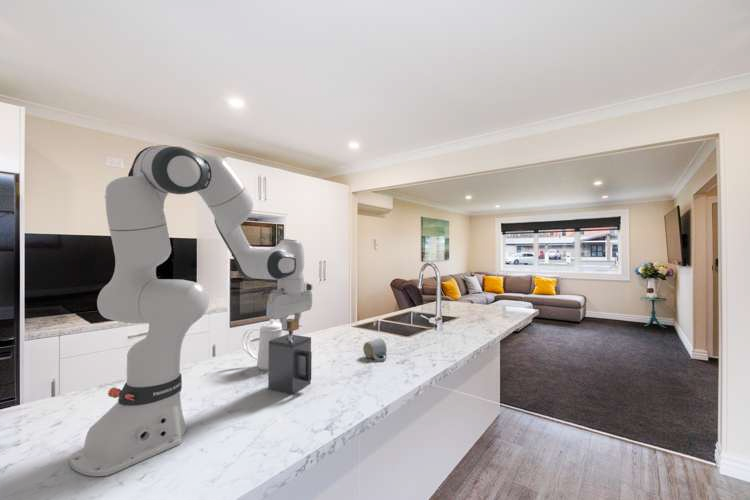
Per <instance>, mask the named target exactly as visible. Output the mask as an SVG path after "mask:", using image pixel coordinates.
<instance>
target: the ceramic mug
mask: <svg viewBox="0 0 750 500" xmlns="http://www.w3.org/2000/svg"><path fill="white" fill-rule="evenodd" d="M362 349H363V354H364V355H365V357H366V358H367V359H374V360H375V361H377V362H385V361H386V359H387V357H388V356H387V344H386V342H385V340H384V338H381V337H379V338H375V339H372V340H369V341H367V342H364V345H363V347H362ZM380 357H382V358H380Z"/></svg>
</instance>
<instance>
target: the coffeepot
mask: <svg viewBox="0 0 750 500" xmlns="http://www.w3.org/2000/svg"><path fill="white" fill-rule="evenodd" d="M275 320H276V319H269V322H265V323H264V324H262V325H261V326H260V328H258V327H254V328H250V329H248V330H246V331H245V332H244V334H243V336H242V345H243V346H242V347H243V349H244V350H245V352H246V353H247V354H248V355H249V356H250V357H251V358H253V359H255V360H257V362H256V366H257V368H258V369H260V370H263V371H268V364H269V341H270V340H273V339H276V338H278V337H281V336H284V335H285V333H284V330H282V324H281V322H275ZM300 327H302V328H303V327H304V325H303V324H299V328H300ZM251 330H252V331H251ZM249 331H250V332H249ZM254 331H259V339H258V350H257V356H256V355H254V353H253V352H252V351H251V349H250V347H249V338H250V335H251V334H252V333H253V332H254ZM248 332H249V333H248ZM294 332H295V330H294V331H292V335H294ZM247 333H248V335H247V337H246V334H247ZM245 337H246V343H245Z"/></svg>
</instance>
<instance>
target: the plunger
mask: <svg viewBox="0 0 750 500" xmlns="http://www.w3.org/2000/svg"><path fill="white" fill-rule="evenodd" d="M286 322H287V324H289V326H288V327H289V328H288V329H286V330H283V329H282V330H283V332H284V331H285V332H288V334H289V340H292V331H294V332H295V331H298V330H300V327H299V325H300V319H299V320H297V319H294V318H287V319H286Z"/></svg>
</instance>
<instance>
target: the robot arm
mask: <svg viewBox="0 0 750 500" xmlns="http://www.w3.org/2000/svg"><path fill="white" fill-rule="evenodd" d="M127 174H128V175H127V176H122V177H118V178H115V179H113V180H112V181H110V182H109V183H108V184H107V185H106V188H105V209H106V210H105V211H106V212H105V213H106V219H107V220H106V221H107V224H108V228H109V233H110V238H111V242H112V247H113V248H112V249H113V253H114V258H115V259H114V260H115V261H114V262H115V263H114V265H115V266H114V272H113V275H112V277H111V279H110V281H109V282H108V283H107V284H106V285H104V287H103V288H102V289H101V290H100V291H99V294H98V295H97V300H96V305H97V307H96V308H97V311H98V312H99V314H100V315H101V316H102V317H103V318H105V319H106V320H111V321H114V322H118V323H123V324H148V331H147V333H146V336H145V338H142V339H141V340H139V341H137V342H135V343H134V344H133V345H132V346H131V347H130V348H129V350H128V352H127V354H126V382H125V384H124V385H123V386H122V389H120V388H118V387H111V388H110V389H109V390H108V391H107V396H108V397H110V398H113V399H116V398H117V402H116V403H115V404H114V405H112V407H111V408H110V409H109V410H108V411H107V412H106V413H105V414H103V415H102V416H101V417H100V418H99V419H98V420H96V422H95V423H94V424H92V426H90V427H89V429H88V431H87V433H86V436H85V440H84V446H83V448H82V449H79V450H78V451H76V452H74V453H73V454H71V456H70V460H69V465H70V467H71V468H72V469H73V470H74V471H75V472H77V473H79V474H82V475H84V476H91V477H107V476H109V475H112V474H114V473H117V472H119V471H122V470H124V469H126V468H128V467H131V466H133V465H135V464H138V463H139V462H142V461H144V460H147V459H149V458H150V457H153V456H156V455H158V454H160V453H162V452H164V451H167V450H169V449H172V448H174V447H175V446H178V445H180V444H181V443H182V441H183V435H184V434H185V432H186V431H187V427H188V426H187V423H186V421H185V419H184V413H183V409H182V407H183V406H182V400H181V391H182V385H183V384H182V382H183V381H182V378H183V377H182V373H180V371H181V369H180V368H181V353H182V346H183V345H182V344H183V342H184V338H185V336H186V334H187V333H188V331H189V329H190V328H191V327H192V326H193V325H194V324H195V323H196V322H198V321H199V320H200V319H202V317H204V315H205V313H206V312H207V310H208V308H209V304H210V297H209V296H210V295H209V293H208V290H207V289H206V287H205V286H204V285H203V284H202V283H199V282H195V281H192V280H187V279H186V280H185V279H171V278H169V279H168V278H166V279H165V278H164V279H163V278H161V279H159V278H158V277H157V267H158V266H160V265H162V264H163V263H164V262H166V261H167V260H168V258H170V255H171V254H172V246H171V245H172V244H171V239H170V235H169V230H168V224H167V220H166V215H165V211H164V208H165V200H166V197H168V195H169V194H174V195H187V194H191V193H195V192H196V193H197V194H198V195H199V196H200V197H201V198H202V200H203V202H204V203H205V204H206V205H207V207H208V208H209V210H210V212H211V213H212V216H213V217H214V224H215V226H216V228H217V231H218V233H219V235H220V237H221V239H222V240H223V242H224V243H225V245H226V247H227V249H228V250H229V253H230V254H231V255H232V258H233V260H234V264H235V267H236V270H237V272H238V274H239V276H241V277H242V278H243V279H246V280H258V279H259V280H276V281H277V284H276V285H277V288H276V289H272V291H270V293H269V294H268V298H267V303H266V313H265V314H266V317H267V318H268V319H269V320H271V319H274V320H277V319H279V323H280V324H282V329H283V331H284V330H286V329H288V328H289V327H288V326H289V324H287V322H286V320H287V319H288V317H289V316H293V315H294V318H293V319H297V320H299V321H300V319H301V316H302V313H304V312H307V311H310V310H311V309H312V306H313V292H312V290H313V288H314V287H313V284H312V283H309V282H307V281H305V276H304V269H305V253H304V252H305V251H304V246H303V244H302V243H301V242H300V241H298V240H296V239H295V240H294V239H290V238H289V239H288V238H287V239H286V238H285V239H281V240H280V241H279V243H277V245H275V246H274V247H271V248H270V249H259V248H255V247H253V246H252V245H250V243H249V241H248V239H247V237H246V235H245V234H244V231H243V229H242V227H241V225H242V224H243V223H245V222H246V221H247V220H248V219H249V218H250V216H251V215H252V212H253V209H254V202H253V198H252V197H251V195H250V192H249V191H248V190H247V187H245V185H244V183H243V181H242V180H241V178H240V177H239V176H238V174H237V173H236V172H235V171H234V169H233V167H231V165H230V164H228V162H227V161H226V160H225V159H224V158H222V157H221V156H218V155H214V154H210V155H209V154H208V155H204V156H202V157H201V156H200V155H198V154H196V153H195V152H193V151H191V150H189V149H187V148H184V147H181V146H173V145H169V144H160V145H153V146H147V147H145V148H142V150H141V151H139V152H138V153H137V154H136V156H135V158H134V160H133V163H132V165H131V168H130V169H129V171H128V173H127Z"/></svg>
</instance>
